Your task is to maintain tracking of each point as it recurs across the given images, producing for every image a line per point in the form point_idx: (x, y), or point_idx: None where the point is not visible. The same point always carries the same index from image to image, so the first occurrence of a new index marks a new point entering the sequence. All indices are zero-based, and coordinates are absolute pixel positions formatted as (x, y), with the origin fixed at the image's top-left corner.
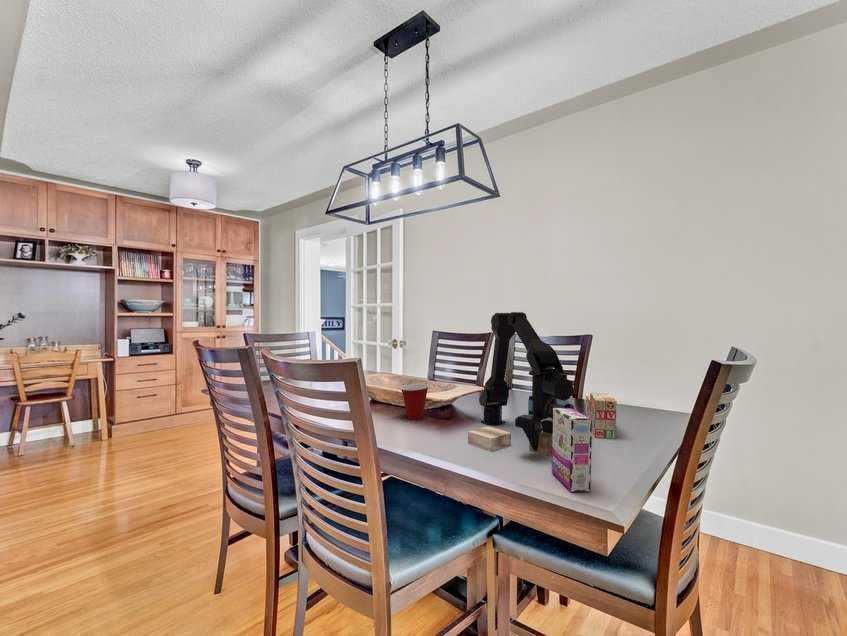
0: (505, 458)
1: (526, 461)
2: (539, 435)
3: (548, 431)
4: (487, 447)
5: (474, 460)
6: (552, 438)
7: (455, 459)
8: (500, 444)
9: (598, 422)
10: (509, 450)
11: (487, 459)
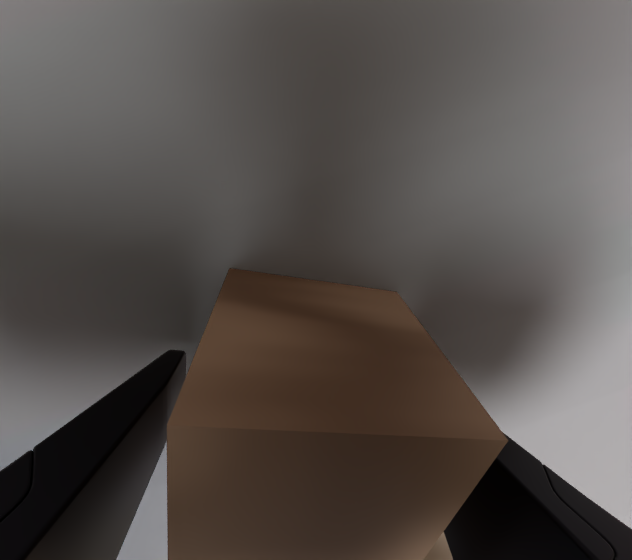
0: (549, 438)
1: (572, 344)
2: (396, 526)
3: (85, 544)
4: None
5: (612, 499)
6: (260, 380)
7: None
8: None
9: None
10: None
11: (587, 478)
